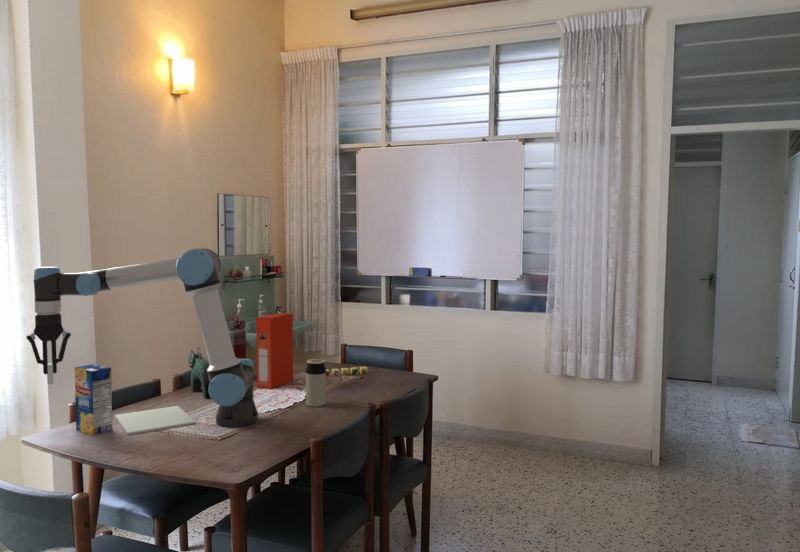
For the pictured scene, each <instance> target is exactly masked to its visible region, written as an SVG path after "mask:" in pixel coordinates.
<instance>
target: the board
mask: <svg viewBox="0 0 800 552" xmlns="http://www.w3.org/2000/svg"><path fill="white" fill-rule="evenodd" d="M115 419H116V421H117V422H118V423H119V425H120V426H121V428H122V429H123V431H124V432H125V434H126V435H127V436H130V435H134V434H140V433H141V434H143V433H147V432H152V431H153V432H154V431H160V430H166V429H171V428H177V427H183V426H189V425H195V423H196V422H195V420H194V419H193V418H191V417H190V416H189V415H188V414H187V413H186V411H184V410H183V409H182V408H181V407H180V406H179V405H174V406H169V407H168V406H167V407H159V408H154V409H153V408H152V409H145V410H139V411H133V412H126V413H119V414H115Z"/></svg>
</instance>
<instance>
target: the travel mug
mask: <svg viewBox="0 0 800 552" xmlns="http://www.w3.org/2000/svg"><path fill="white" fill-rule="evenodd" d="M306 363H307V365H306V368H305V405H306V406H308V407H312V408H318V407H319V408H320V407H323V406H324V405H326V404H327V402H326V401H327V385H326V384H327V383H326V382H327V377H326V369H327V367H326V366H325V363H326V360H325V359H323V358H322V359H321V358H311V359H307V360H306Z"/></svg>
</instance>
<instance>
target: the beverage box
mask: <svg viewBox="0 0 800 552" xmlns="http://www.w3.org/2000/svg"><path fill="white" fill-rule="evenodd" d="M112 387H113V385H112V367H110V366H106V365H105V366H104V365H101V364H97V363H91V364H87V365H81V366H75V367H74V392H75V393H74V394H75V395H74V396H75V397H74V398H75V399H74V400H75V429H76V430H77V431H80V432H83V433H85V434H88V435H92V436H96V435H100V434H103V433H107V432H111V431H113V397H112V396H113V393H112V392H113V389H112Z"/></svg>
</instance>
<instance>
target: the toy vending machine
mask: <svg viewBox="0 0 800 552" xmlns="http://www.w3.org/2000/svg"><path fill="white" fill-rule="evenodd" d="M227 328H228V331H229V335H230V339H231V343H232V347H233V350H234V354H235V357H236V358H238V359H247V332H246V329H241V328H240V329H239V328H238V322H237V321H236V320H229V321H228V322H227Z"/></svg>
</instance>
